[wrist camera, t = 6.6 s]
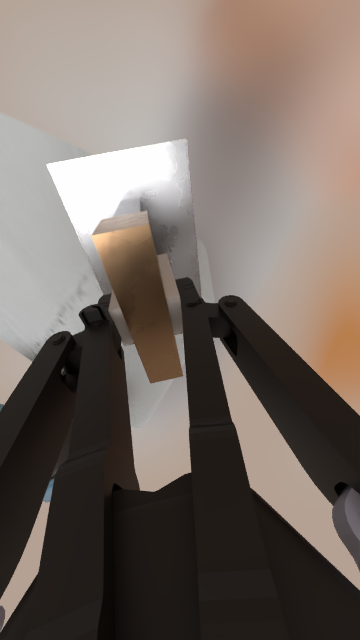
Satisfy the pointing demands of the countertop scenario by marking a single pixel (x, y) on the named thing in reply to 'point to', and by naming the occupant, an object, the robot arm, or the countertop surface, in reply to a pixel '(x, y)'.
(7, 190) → the countertop surface
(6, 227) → the countertop surface
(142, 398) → the countertop surface
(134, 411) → the countertop surface
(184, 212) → the trowel
